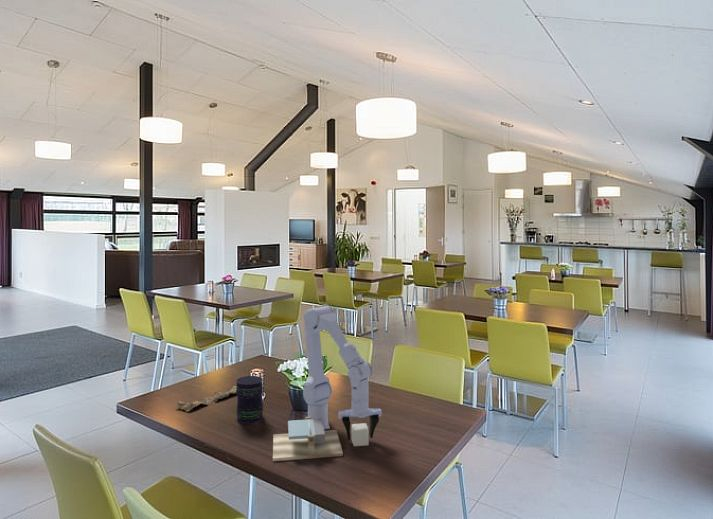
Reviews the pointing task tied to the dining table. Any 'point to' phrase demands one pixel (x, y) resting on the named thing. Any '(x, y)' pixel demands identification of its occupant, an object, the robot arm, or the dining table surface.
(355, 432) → the limestone block
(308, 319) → the robot arm
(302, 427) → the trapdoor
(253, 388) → the storage jar
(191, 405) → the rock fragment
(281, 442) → the beige slab
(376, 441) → the dining table surface
